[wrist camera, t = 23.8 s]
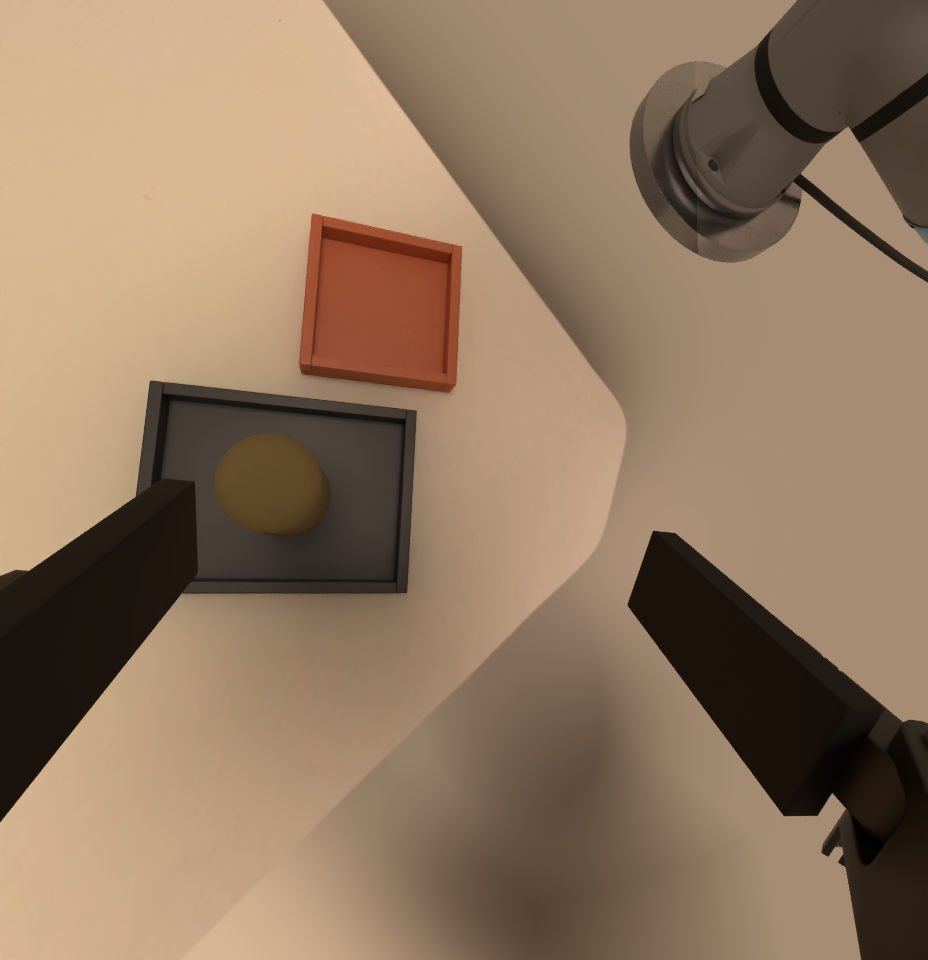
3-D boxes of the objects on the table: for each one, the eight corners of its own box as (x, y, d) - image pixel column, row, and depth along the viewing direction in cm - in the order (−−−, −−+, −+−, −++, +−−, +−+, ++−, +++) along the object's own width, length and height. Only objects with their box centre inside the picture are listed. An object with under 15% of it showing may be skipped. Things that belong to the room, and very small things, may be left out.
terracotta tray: (455, 260, 38) (462, 246, 36) (449, 392, 37) (456, 384, 35) (313, 230, 35) (311, 212, 33) (301, 373, 34) (299, 363, 32)
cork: (287, 435, 33) (266, 393, 22) (348, 493, 34) (356, 479, 23) (220, 495, 31) (164, 480, 21) (286, 554, 32) (265, 569, 21)
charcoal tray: (412, 416, 36) (416, 410, 34) (402, 589, 35) (407, 593, 33) (161, 389, 31) (149, 379, 29) (137, 589, 30) (123, 593, 28)
